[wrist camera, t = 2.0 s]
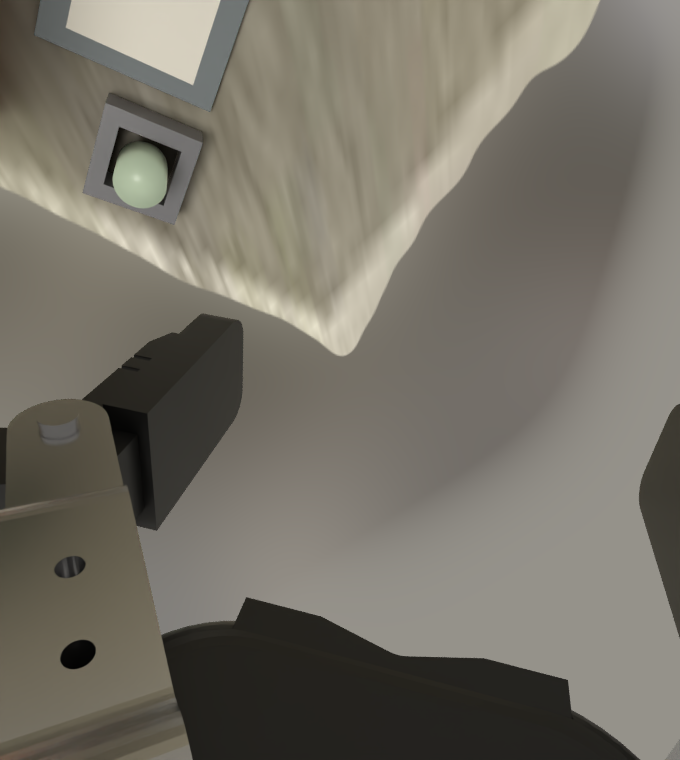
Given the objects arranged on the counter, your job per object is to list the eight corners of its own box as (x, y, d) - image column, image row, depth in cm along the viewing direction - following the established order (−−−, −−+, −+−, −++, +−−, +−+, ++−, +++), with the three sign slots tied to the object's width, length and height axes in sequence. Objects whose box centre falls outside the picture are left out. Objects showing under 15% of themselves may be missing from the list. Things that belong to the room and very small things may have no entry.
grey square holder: (86, 179, 55) (82, 192, 52) (109, 92, 51) (105, 102, 48) (174, 211, 58) (174, 224, 56) (202, 131, 54) (203, 143, 52)
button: (111, 178, 53) (106, 197, 50) (124, 133, 50) (120, 149, 47) (159, 196, 54) (158, 215, 51) (174, 152, 52) (173, 170, 49)
